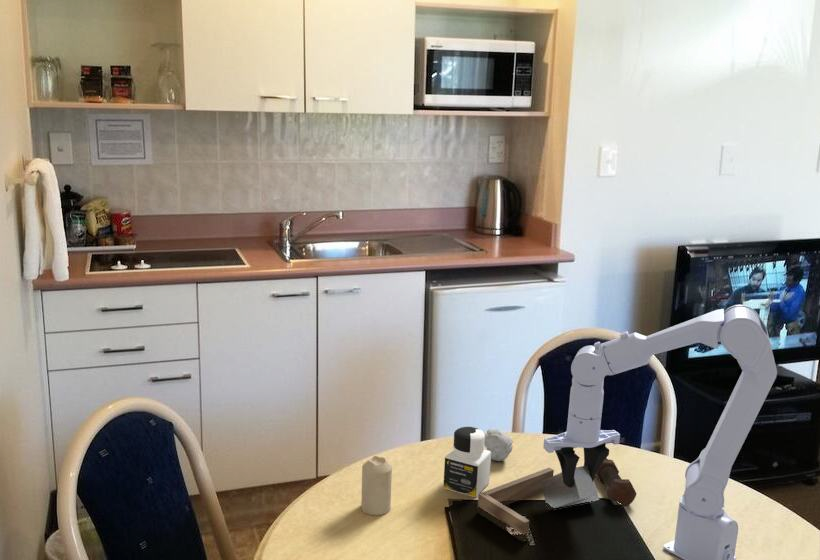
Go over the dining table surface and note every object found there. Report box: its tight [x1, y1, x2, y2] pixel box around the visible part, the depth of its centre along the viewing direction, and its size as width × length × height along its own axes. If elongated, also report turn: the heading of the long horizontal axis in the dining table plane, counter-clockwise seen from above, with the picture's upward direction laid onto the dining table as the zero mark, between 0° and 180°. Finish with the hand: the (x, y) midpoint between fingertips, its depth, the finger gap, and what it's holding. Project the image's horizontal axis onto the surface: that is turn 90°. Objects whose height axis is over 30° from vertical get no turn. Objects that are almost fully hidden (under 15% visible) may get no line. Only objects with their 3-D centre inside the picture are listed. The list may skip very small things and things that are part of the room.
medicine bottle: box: [442, 426, 492, 498], centre depth 153 cm, size 7×7×12 cm
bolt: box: [596, 457, 637, 507], centre depth 156 cm, size 6×5×15 cm
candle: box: [361, 455, 393, 516], centre depth 144 cm, size 6×6×10 cm
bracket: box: [541, 465, 600, 509], centre depth 144 cm, size 12×10×6 cm
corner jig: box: [477, 467, 555, 535], centre depth 145 cm, size 12×19×4 cm, turn 127°
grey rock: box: [484, 428, 514, 462], centre depth 165 cm, size 6×7×7 cm
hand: (577, 483), depth 140 cm, fingers closed on bracket, 4 cm apart
